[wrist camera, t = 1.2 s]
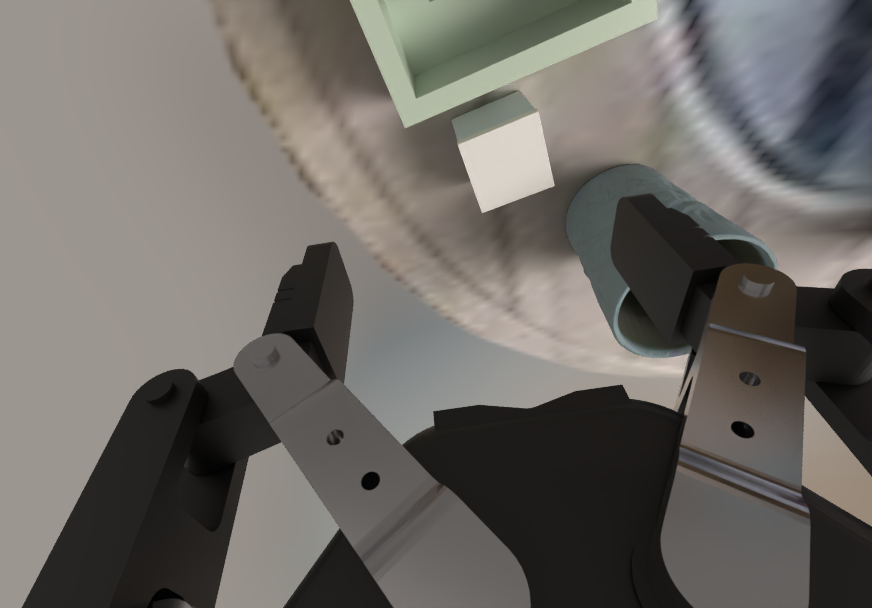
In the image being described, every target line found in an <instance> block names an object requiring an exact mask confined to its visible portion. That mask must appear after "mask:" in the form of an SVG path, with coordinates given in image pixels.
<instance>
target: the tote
mask: <svg viewBox="0 0 872 608" xmlns="http://www.w3.org/2000/svg"><path fill="white" fill-rule="evenodd" d="M350 2H351V4H352V7H353V9H354V11H355V14H356V16H357V18H358V20H359V23H360V25H361V27H362V30H363V32H364V34H365V37H366V39H367V41H368V44H369V46H370V48H371V51H372V53H373V55H374V58H375V60H376V62H377V65H378V67H379V69H380V71H381V74H382V76H383V78H384V81H385V83H386V85H387V88H388V90H389V92H390V95H391V97H392V99H393V102H394V104H395V106H396V109H397V111H398V113H399V116H400V118H401V120H402V122H403V125H404V127H405V128H407V127H410V126H412V125H414V124H417V123H419V122H421V121H423V120H426V119H428V118H430V117H433V116H435V115H437V114H440V113H442V112H444V111H447V110H449V109H451V108H453V107H456V106H458V105H460V104H463V103H465V102H467V101H470V100H472V99H474V98H476V97H479V96H481V95H483V94H486V93H488V92H490V91H493V90H495V89H497V88H500V87H502V86H504V85H506V84H509V83H511V82H513V81H516V80H518V79H520V78H523V77H525V76H527V75H529V74H532V73H534V72H536V71H539V70H541V69H543V68H546V67H548V66H550V65H553V64H555V63H557V62H559V61H562V60H564V59H566V58H569V57H571V56H573V55H576V54H578V53H580V52H582V51H585V50H587V49H589V48H592V47H594V46H596V45H599V44H601V43H603V42H606V41H608V40H610V39H612V38H615V37H617V36H619V35H622V34H624V33H626V32H629V31H631V30H633V29H635V28H638V27H640V26H642V25H645V24H647V23H649V22H652V21H654V20H656V19H658V17H657V0H434V1H432V2H429V0H350Z"/></svg>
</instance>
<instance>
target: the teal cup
mask: <svg viewBox="0 0 872 608" xmlns="http://www.w3.org/2000/svg"><path fill="white" fill-rule="evenodd" d="M646 193H651V194H653V195H654V196H655V197H656V198H657V199H658V200H659V201H660V202H661V203H662V204H663V205H664V206H665V207H667V208H673V209H675V210H678V211H680V212H682V213H684V214H687V215H689V216H690V217H691V218H692V219H693V220H694V221H695V222H696V223H698V224H699V225H700V228H703V229H704V230H705V231H706V232H707V233H709V234H710V237H713V238H714V239H715V240H716V241H717V242H718V243H719V244H721V245H722V246H723V247H724V248H725V249H726V250H727V251H728V252H729V253H730V254H732V255H733V256H734V257H735V258H736V259H737V260H738V261H739V262H740V263H741V264H742V263H749V264H758V265H763V266H767V267H770V268H773V269H776V270H778V264H777V261H776V257H775V256H774V254H773V253H772V251H771V250H770V249H769V248H768V246H767V245H766V244H765V243H763V242H762V241H761V240H759V239H758V238H756V237H755V236H753V235H752V234H750V233H749V232H747V231H745V230H744V229H742V228H741V227H739V226H738V225H736V224H735V223H733V222H731V221H730V220H728V219H727V218H725V217H723V216H721V215H719V214H718V213H716V212H715V211H714V210H712V209H711V208H709V207H708V206H706V205H705V204H703V203H701V202H698V201H697V200H696V199H695V198H694V197H692V196H691V195H690V194H688V193H686V192H685V191H683V190H682V189H680V188H679V187H677V186H675V185H674V184H673V183H671V182H670V181H668V180H667V179H666V178H665V177H664V176H663V175H662V174H660V173H659V172H657V171H655V170H654V169H652V168H649V167H646V166H641V165H640V164H633V165H628V164H627V165H624V166H622V165H621V166H618V167H615V168H612V169H609V170H607V171H604V172H603V173H601V174H598V175H597V176H596V177H594V178H592V179H591V180H590V181H588V182H587V183H586V184H585V185H584V186H583V187H582V188H581V189H580V190H579V191H578V193H577V194H576V195H575V197H574V198H573V200H572V202H571V204H570V206H569V208H568V211H567V216H566V232H567V236H568V239H569V241H570V243H571V246H572V248H573V249H574V251H575V252H576V253H577V255H578V256H579V258H580V261H581V264H582V266H583V268H584V273H585V274H586V276H587V277H588V278H589V280H590V281H591V285H592V288H593V290H594V293H595V295H596V298H597V300H598V303H599V305H600V307H601V309H602V311H603V313H604V315H605V318H606V320H607V322H608V324H609V326H610V328H611V330H612V333H613V335H614V337H615V339H616V340H617V341H618V343H619V344H620V345H621V346H623V347H624V348H625V349H627V350H628V351H630V352H632V353H634V354H637V355H640V356H645V357H651V358H667V357H675V356H681V355H686V354H689V353H690V351H691V349H692V347H691V346H690V344H689V343H683V344H676V345H668V344H667V342H666V341H665V339H664V338H663V336H662V335H661V333H660V332H659V330H658V329H657V328H656V326H655V325H654V323H653V322H652V320H651V319H650V317H649V316H648V314H647V313H646V312H645V310H644V309H643V307H642V306H641V304H640V303H639V301H638V300H637V298H636V297H635V295H634V294H633V293H632V291H631V290H630V288H629V287H628V285H627V284H626V282H625V281H624V279H623V278H622V277H621V275H620V274H619V272H618V271H617V269H616V268H615V266H614V264H613V262H612V258H611V251H610V247H611V239H612V233H613V227H614V221H615V215H616V208H617V204H618V201H619V199H620V198H622V197H626V196H633V195H639V194H646Z"/></svg>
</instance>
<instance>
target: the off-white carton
mask: <svg viewBox="0 0 872 608" xmlns="http://www.w3.org/2000/svg"><path fill="white" fill-rule="evenodd" d="M451 121H452V124H453V128H454V131H455V134H456V138H457V144H458V147H459V150H460V153H461V156H462V158H463V161H464V164H465V167H466V170H467V172H468V175H469V178H470V181H471V184H472V186H473V189H474V192H475V195H476V198H477V200H478V203H479V206H480V209H481V211H482V213H484V212H487V211H489V210H492V209H495V208H497V207H500V206H503V205H505V204H508V203H511V202H513V201H516V200H519V199H521V198H524V197H527V196H529V195H532V194H535V193H537V192H540V191H542V190H545V189H548V188H550V187H553V186H555V185H554V181H553V176H552V171H551V167H550V162H549V158H548V153H547V148H546V144H545V139H544V135H543V130H542V125H541V121H540V116H539V112H538V110H537V109H535V108H534V107H533V106H532V105H531V104H530V102H529V101H528V100H527V99H526V97H525V96H524V95H523V94H522V92H521V91H520V90H519V91H517V92H514V93H512V94H510V95H507V96H505V97H503V98H500V99H498V100H496V101H493V102H491V103H489V104H486V105H484V106H482V107H479V108H477V109H475V110H472V111H470V112H468V113H465V114H463V115H461V116H458V117H456V118H454V119H451Z"/></svg>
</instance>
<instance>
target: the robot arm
mask: <svg viewBox="0 0 872 608" xmlns="http://www.w3.org/2000/svg"><path fill="white" fill-rule="evenodd" d="M610 251H611V258H612V262H613V264H614V266H615V268H616V269H617V271H618V272H619V274H620V275H621V277H622V278H623V279H624V281H625V282H626V284H627V285H628V287H629V288H630V290H631V291H632V293H633V294H634V295H635V297H636V298H637V300H638V301H639V303H640V304H641V306H642V307H643V309H644V310H645V312H646V313H647V314H648V316H649V317H650V319H651V320H652V322H653V323H654V325H655V326H656V328H657V329H658V330H659V332H660V333H661V335H662V336H663V338H664V339H665V341H666V342H667V344H668V345H676V344H683V343H689V344H690V346H691V347H692V349H691V351H690V354H689V356H688V360H687V363H686V367H685V371H684V374H683V378H682V381H681V385H680V389H679V393H678V396H677V399H676V403H675V407H674V410H672V409H669V408H666V407H663V406H661V405H657V404H654V403H650V402H646V401H641V400H635V399H629V397H628V395H627V393H626V391H625V389H624V387H623V385H616V386H609V387H602V388H595V389H588V390H581V391H575V392H572V393H570V394H567V395H565V396H562V397H559V398H557V399H554V400H552V401H549V402H547V403H544V404H542V405H539V406H536V407H534V408H528V409H524V408H512V407H499V406H486V405H475V406H468V407H462V408H455V409H447V410H440V411H434V412H433V413H434V425H435V426H432V427H430V428H427V429H425V430H424V431H422V432H420V433H418V434H416V435H415V436H413V437H412V438H411V439H409V440H408V441H406V442H405V443H404V444H403V445H401V444H400V443H399V442H398V441H397V440H396V439H395V437H393V435H392V434H391V433H390V432H389V431H388V430H387V429H386V428H385V427H384V426H383V425H382V424H381V423H380V422H379V421H378V420H377V419H376V418H375V416H374V415H373V414H372V413H371V412H370V411H369V410H368V409H367V408H366V407H365V406H364V405H363V404H362V403H361V402H360V401H359V400H358V399H357V398H356V397H355V396H354V395H353V394H352V392H351V391H350V390H349V389H348V388H347V387H346V386H345V385H344V379H345V370H346V362H347V354H348V345H349V337H350V329H351V320H352V312H353V293H352V288H351V284H350V281H349V278H348V275H347V272H346V269H345V266H344V263H343V261H342V258H341V255H340V252H339V249H338V246H337V245H336V243H335V242H329V243H322V244H316V245H310V246H308V247H307V249H306V253H305V256H304V259H303V263H302V264H300V265H294V266H292V267H291V268H290V269H289V271H288V272H287V273H286V274H285V275H284V276H283V277H282V280H281V282H280V285H279V288H278V293H277V294H276V297H275V300H274V301H275V303H273V305H272V308H271V311H270V314H269V317H268V320H267V323H266V326H265V328H264V331H263V334H262V337H259V338H257V339H255V340H253V341H252V342H250V343H249V344H248V345H246V346H245V347H244V348H243V349H242V350H241V351H240V352H239V353H238V355H237V357H236V358H235V361H234V366H233V367H232V368H230V369H227V370H225V371H222V372H220V373H217V374H215V375H212V376H210V377H207V378H204V379H202V380H198V379H197V378H196V376H195V375H194V374H193V373H192V372H191V371H189V370H185V369H175V370H170V371H167V372H164V373H162V374H160V375H157V376H155V377H154V378H152V379H151V380H149V381H148V382H146V383H145V384H144V385H142V386H141V387H140V388H139V389H138V390H137V391H136V393H135V394H134V395H133V396H132V398H131V400H130V401H129V403H128V405H127V407H126V409H125V411H124V413H123V415H122V417H121V419H120V421H119V423H118V425H117V426H116V428H115V430H114V432H113V434H112V436H111V438H110V440H109V442H108V444H107V446H106V447H105V449H104V451H103V453H102V455H101V457H100V459H99V461H98V463H97V465H96V467H95V469H94V471H93V472H92V474H91V476H90V478H89V480H88V482H87V484H86V486H85V488H84V490H83V491H82V493H81V495H80V497H79V499H78V501H77V503H76V505H75V507H74V509H73V511H72V513H71V514H70V517H69V518H68V520H67V522H66V524H65V526H64V528H63V530H62V532H61V534H60V536H59V537H58V539H57V541H56V543H55V545H54V547H53V549H52V551H51V553H50V555H49V557H48V559H47V561H46V562H45V564H44V566H43V568H42V570H41V572H40V574H39V576H38V578H37V580H36V582H35V583H34V585H33V587H32V589H31V591H30V593H29V595H28V597H27V599H26V601H25V603H24V605H23V606H22V608H215V603H216V599H217V594H218V590H219V586H220V581H221V577H222V573H223V568H224V564H225V559H226V555H227V551H228V546H229V542H230V537H231V533H232V529H233V524H234V520H235V515H236V511H237V506H238V502H239V497H240V493H241V489H242V485H243V480H244V476H245V471H246V467H247V462H248V458H249V456H251V455H253V454H255V453H258V452H260V451H262V450H265V449H267V448H269V447H271V446H274V445H276V444H278V443H280V442H282V443H283V445H284V446H285V448H286V449H287V451H288V452H289V454H290V455H291V456H292V458H293V459H294V461H295V462H296V464H297V465H298V467H299V468H300V470H301V471H302V473H303V474H304V476H305V477H306V479H307V480H308V482H309V483H310V485H311V486H312V488H313V489H314V490H315V492H316V493H317V495H318V496H319V498H320V499H321V501H322V502H323V504H324V505H325V507H326V508H327V510H328V511H329V513H330V514H331V515H332V517H333V519H334V520H335V522H336V523H337V524H338V526H339V527H340V528H339V530H338V531H337V533H336V534H335V536H334V537H333V538H332V540H331V541H330V543H329V544H328V545H327V547H326V548H325V550H324V551H323V553H322V554H321V555H320V557H319V558H318V559H317V561H316V562H315V564H314V565H313V566H312V568H311V570H310V571H309V572H308V574H307V575H306V576H305V578H304V579H303V581H302V582H301V584H300V585H299V586H298V588H297V589H296V590H295V592H294V593H293V595H292V596H291V597H290V599H289V600H288V602H287V603H286V605H285V606H284V607H283V608H872V527H871V526H870V525H868V524H866V523H865V522H863V521H861V520H860V519H858V518H856V517H855V516H853V515H851V514H850V513H848V512H846V511H845V510H843V509H841V508H840V507H838V506H836V505H834V504H833V503H831V502H829V501H828V500H826V499H824V498H823V497H821V496H819V495H818V494H816V493H814V492H812V491H811V490H809V489H808V488H806V487H804V486H803V485H802V457H803V427H804V400H805V397H804V396H806V397H807V399H808V400H809V401H810V402H811V403H812V405H813V406H814V407H815V408H816V410H817V411H818V412H819V413H820V414H821V416H822V417H823V418H824V419H825V420H826V422H827V423H828V424H829V425H830V427H831V428H832V429H833V430H834V431H835V433H836V434H837V435H838V436H839V437H840V439H841V440H842V441H843V442H844V443H845V444H846V446H847V447H848V448H849V449H850V451H851V452H852V453H853V454H854V455H855V457H856V458H857V459H858V460H859V461H860V463H861V464H862V465H863V466H864V468H865V469H866V470H867V471H868V472H869V473H870V475H871V476H872V269H857V270H852V271H849V272H847V273H845V274H844V275H843V276H842V277H841V279H840V280H839V282H838V284H837V285H836V287H835V289H833V288H815V287H798V286H796V285H795V283H794V282H793V280H792V279H790V278H789V277H788V276H787V275H785V274H784V273H782V272H780V271H778V270H776V269H773V268H770V267H767V266H763V265H758V264H749V263H742V264H741V263H740V262H739V261H738V260H737V259H736V258H735V257H734V256H733V255H732V254H730V253H729V252H728V251H727V250H726V249H725V248H724V247H723V246H722V245H721V244H719V243H718V242H717V241H716V240H715V239H714V238H713V237H710V234H709V233H707V232H706V231H705V230H704V229H703V228H700V225H699V224H698V223H696V222H695V221H694V220H693V219H692V218H691V217H690V216H689V215H687V214H684V213H682V212H680V211H678V210H675V209H673V208H667V207H665V206H664V205H663V204H662V203H661V202H660V201H659V200H658V199H657V198H656V197H655V196H654V195H653V194H651V193H646V194H639V195H633V196H626V197H622V198H620V199H619V201H618V204H617V208H616V215H615V221H614V227H613V233H612V239H611V247H610Z"/></svg>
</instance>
